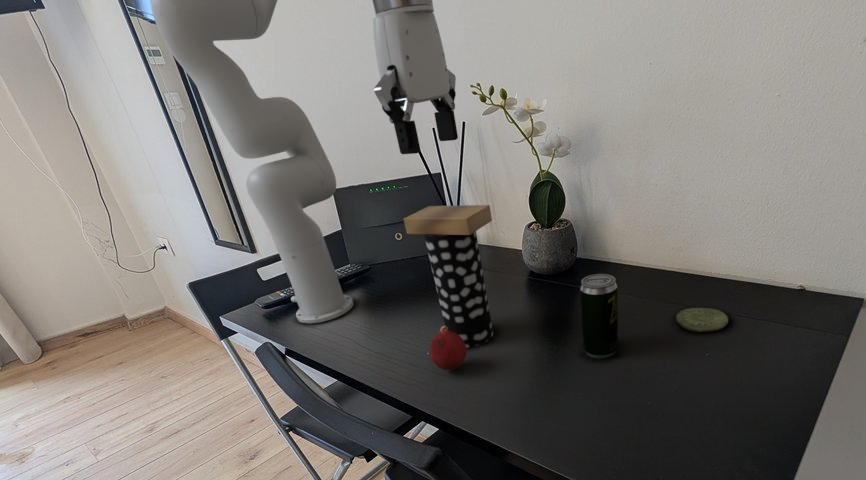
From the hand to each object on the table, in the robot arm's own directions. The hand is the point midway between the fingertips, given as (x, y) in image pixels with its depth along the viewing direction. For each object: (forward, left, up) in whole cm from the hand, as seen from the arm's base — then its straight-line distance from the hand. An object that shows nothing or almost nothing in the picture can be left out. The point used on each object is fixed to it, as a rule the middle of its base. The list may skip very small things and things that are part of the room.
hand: (430, 146), depth 69 cm
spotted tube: (0, 0, -32) cm, 32 cm away
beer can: (+24, +1, -32) cm, 40 cm away
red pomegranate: (+3, -11, -32) cm, 34 cm away
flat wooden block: (0, 0, -12) cm, 12 cm away
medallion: (+37, +14, -32) cm, 51 cm away
